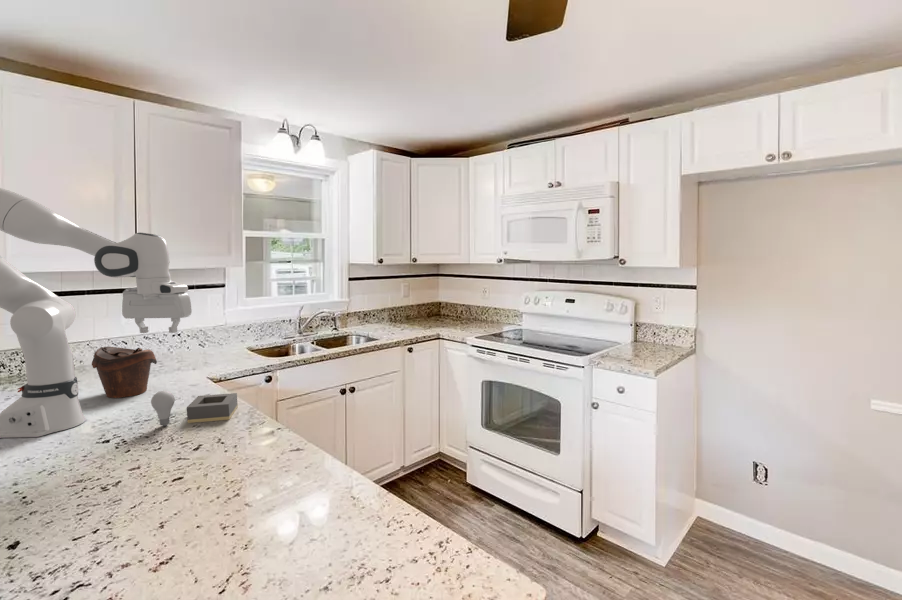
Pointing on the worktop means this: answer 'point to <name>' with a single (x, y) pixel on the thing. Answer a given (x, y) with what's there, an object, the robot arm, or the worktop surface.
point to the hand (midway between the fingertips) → (158, 332)
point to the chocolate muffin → (123, 370)
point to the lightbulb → (163, 406)
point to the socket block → (212, 408)
